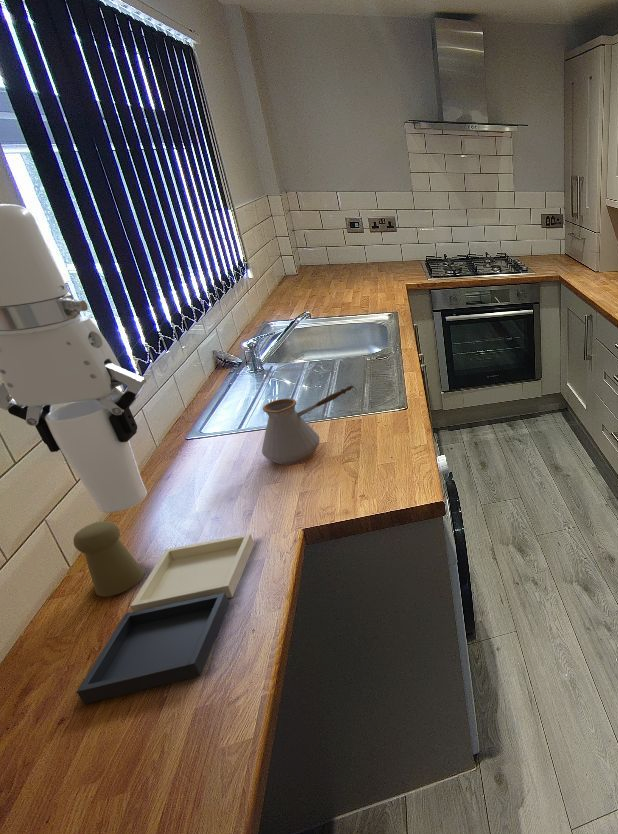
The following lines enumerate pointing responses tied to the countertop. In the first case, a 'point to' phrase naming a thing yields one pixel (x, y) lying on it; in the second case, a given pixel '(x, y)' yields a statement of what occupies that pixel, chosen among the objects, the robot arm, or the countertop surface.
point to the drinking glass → (97, 454)
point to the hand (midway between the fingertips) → (95, 441)
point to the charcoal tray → (156, 648)
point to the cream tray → (195, 572)
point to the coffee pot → (291, 430)
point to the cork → (107, 558)
